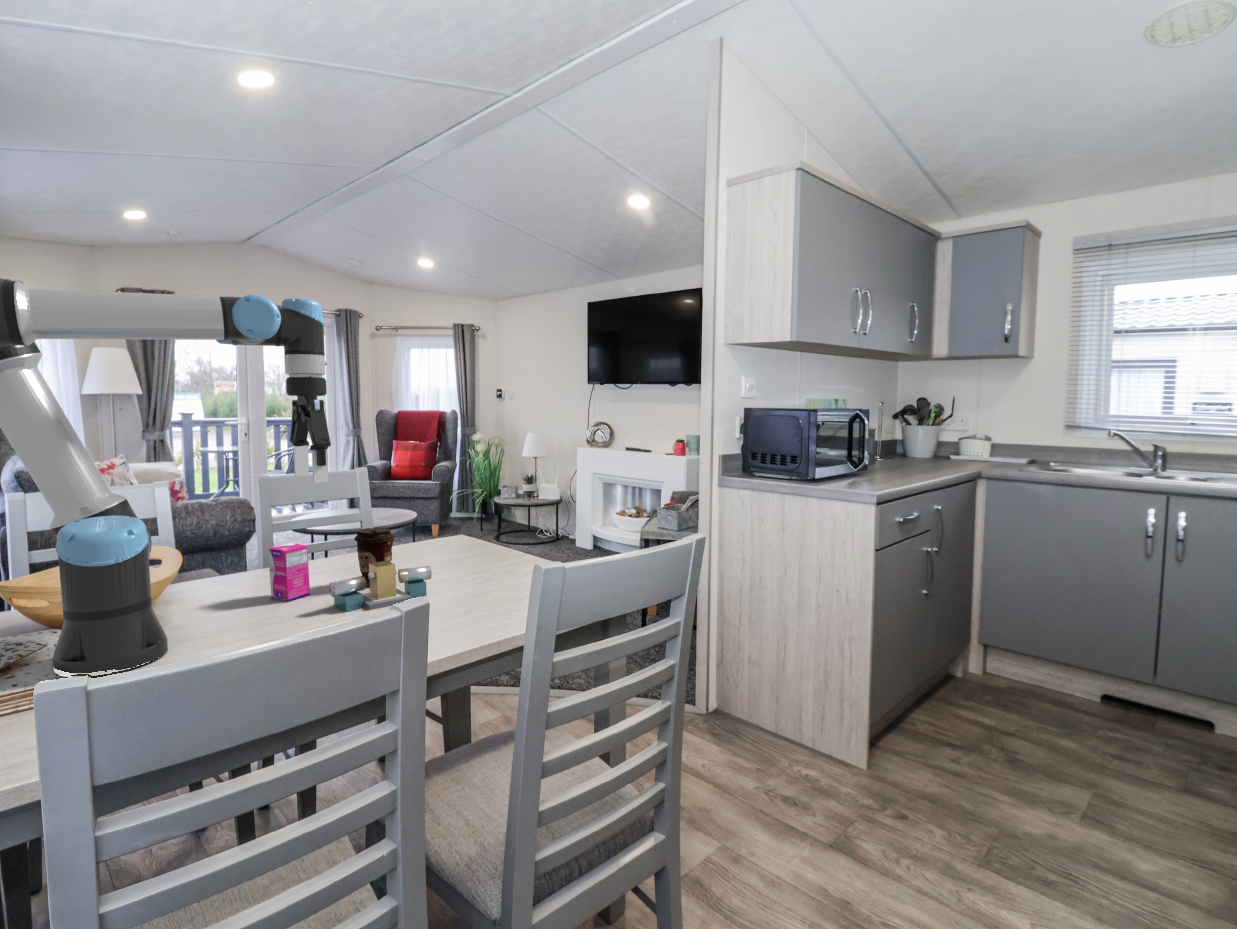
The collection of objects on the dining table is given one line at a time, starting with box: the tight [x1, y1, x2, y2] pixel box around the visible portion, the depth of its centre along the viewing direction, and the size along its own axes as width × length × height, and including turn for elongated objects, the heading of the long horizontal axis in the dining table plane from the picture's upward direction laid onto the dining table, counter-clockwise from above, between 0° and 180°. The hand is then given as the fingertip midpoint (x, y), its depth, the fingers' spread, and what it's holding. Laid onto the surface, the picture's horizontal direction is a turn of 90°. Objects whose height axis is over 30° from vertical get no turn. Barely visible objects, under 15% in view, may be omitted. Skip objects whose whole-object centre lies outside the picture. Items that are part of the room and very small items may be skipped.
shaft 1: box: [328, 575, 367, 613], centre depth 137 cm, size 7×5×6 cm
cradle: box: [362, 587, 413, 611], centre depth 142 cm, size 9×9×1 cm
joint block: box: [368, 561, 397, 600], centre depth 141 cm, size 6×4×7 cm
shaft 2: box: [397, 565, 433, 599], centre depth 146 cm, size 7×5×6 cm
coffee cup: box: [354, 527, 395, 587], centre depth 154 cm, size 9×8×13 cm
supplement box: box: [267, 542, 311, 603], centre depth 144 cm, size 6×6×12 cm
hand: (311, 479), depth 137 cm, fingers open, 13 cm apart
